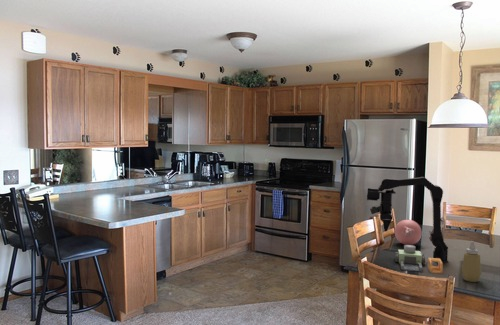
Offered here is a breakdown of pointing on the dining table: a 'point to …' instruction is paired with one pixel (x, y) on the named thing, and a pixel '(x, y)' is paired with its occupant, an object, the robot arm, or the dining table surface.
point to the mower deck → (409, 255)
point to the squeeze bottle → (471, 264)
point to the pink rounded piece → (408, 232)
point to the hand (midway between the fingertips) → (385, 229)
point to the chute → (434, 268)
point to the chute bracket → (411, 266)
